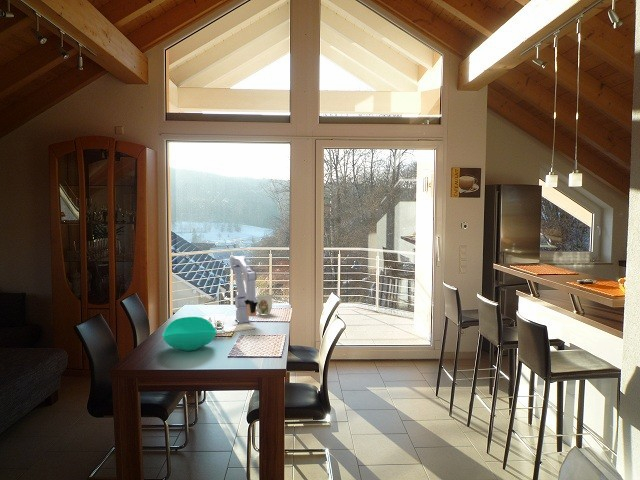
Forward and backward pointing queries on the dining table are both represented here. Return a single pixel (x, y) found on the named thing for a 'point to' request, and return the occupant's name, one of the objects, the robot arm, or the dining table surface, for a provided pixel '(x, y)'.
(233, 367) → the dining table surface
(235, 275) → the robot arm
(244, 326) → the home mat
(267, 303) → the pitcher
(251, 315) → the block
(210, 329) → the table top decor
